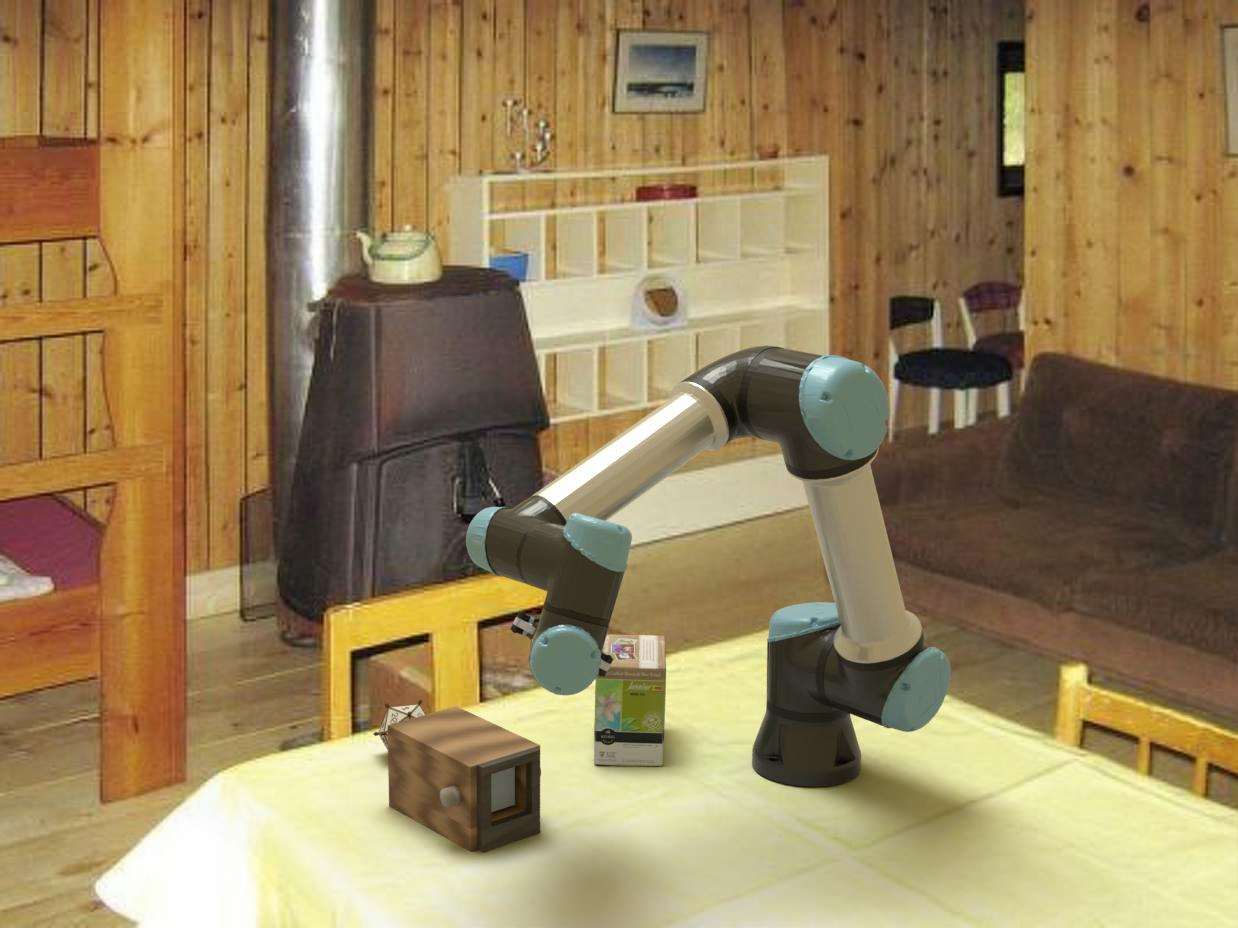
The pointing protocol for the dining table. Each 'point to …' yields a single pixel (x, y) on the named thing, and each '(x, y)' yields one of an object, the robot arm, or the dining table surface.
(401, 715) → the game die
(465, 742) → the wooden peg box
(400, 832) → the dining table surface
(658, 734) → the tea box
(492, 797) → the peg
